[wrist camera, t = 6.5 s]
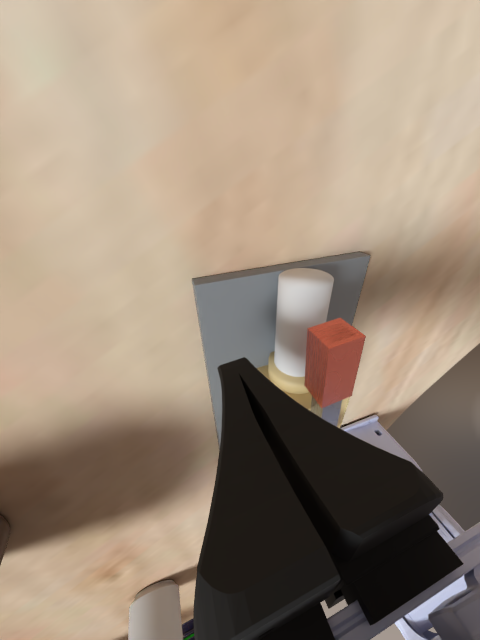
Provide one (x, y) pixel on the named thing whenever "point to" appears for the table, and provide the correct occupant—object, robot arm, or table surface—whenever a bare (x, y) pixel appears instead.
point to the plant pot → (3, 536)
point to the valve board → (274, 318)
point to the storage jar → (188, 630)
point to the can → (156, 613)
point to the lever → (331, 366)
